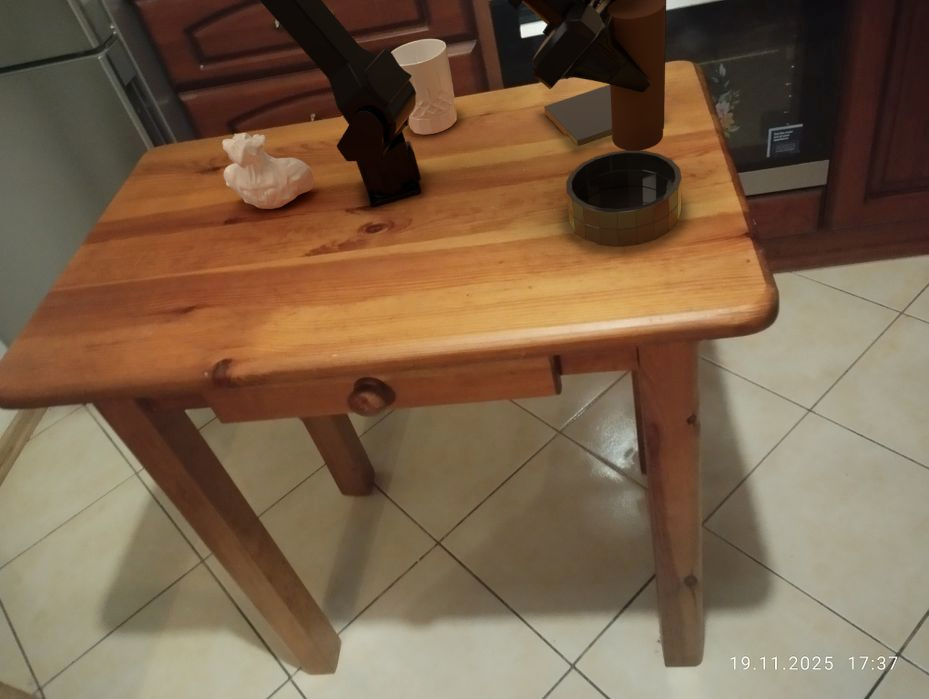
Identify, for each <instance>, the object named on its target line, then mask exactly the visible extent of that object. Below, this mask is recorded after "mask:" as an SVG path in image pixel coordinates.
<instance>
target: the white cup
mask: <svg viewBox="0 0 929 699" xmlns="http://www.w3.org/2000/svg"><path fill="white" fill-rule="evenodd" d="M390 52H391V53H392V54H393V56H394V57H395V59H396V61H397V62H398V64H399V65H400V66H401V67H402V68H403V69H404V70H405V71H406V72H408V73H409V74H411V75H412V77H411V78H410V80H409V81H410V82H411V83H412V85H413V87H414V89H415V91H416V105H415V108H414V110H413V112H412V113H411V114H410V116H409V124H408V126H409V129H410V130H411V131H412V132H413V133H414V134H417V135H421V136H422V135H423V136H424V135H434V134H438V133H441V132H445V131H446V130H448V129H449V128H451V127H452V126H453V125H455V123H456V122H457V120H458V119H457V118H458V115H457V114H458V113H457V108H456V103H455V100H456V99H455V97H456V96H455V92H454V84H453V79H452V78H453V76H452V71H451V67H450V66H451V65H450V61H449V55H448V48H447V44H446V42H445V41H444V40H441V39H437V38H423V39H418V40H414V41H411V42H408V43H404V44H402V45H400V46H398V47H396V48H395V49H393V50H392V51H390Z"/></svg>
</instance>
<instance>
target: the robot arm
mask: <svg viewBox="0 0 929 699" xmlns="http://www.w3.org/2000/svg"><path fill="white" fill-rule="evenodd" d="M258 1H259V2H260V3H261V5H262V6H263V7H265V9H266V10H267V11H268V12H269V13H270V15H271V16H273V18H274V19H275V20H276V21H277V23H279V25H280V26H281V27H282V28H283V29H284V30H285V31H286V33H287V34H289V36H290V37H291V38H292V39H293V41H294V42H295V43H296V44H297V45H298V47H300V49H301V50H302V51H303V52H304V53H305V54H306V55H307V56H308V58H309V59H310V60H311V61H312V62H313V63H314V64H315V65H316V67H317V68H318V69H319V70H320V71H321V72H322V73H323V75H324V76H325V77H326V79H327V80H328V81H329V85H330V88H331V91H332V95H333V98H334V101H335V105H336V108H337V110H338V111H339V113H340V114H341V116H342V117H343V119H344V120H345V122H346V123H347V124H348V126H347V128H346V129H345V131H344V133H343V134H342V136H341V137H340V139H339V141H338V142H337V144H336V148H337V150H338V152H339V153H340V154H341V156H342V157H343V158H344V160H345V161H346V162H355V163H356V165H357V167H358V171H359V174H360V177H361V179H362V182H363V185H364V188H365V191H366V196H367V202H368V204H369V206H370V207H376V206H379V205H382V204H385V203H389V202H391V201H395V200H399V199H401V198H402V199H403V198H405V197H409V196H412V195H416V194H418V193H420V192H421V191H422V189H421V186H420V183H419V181H421V179H422V176H421V173H420V170H419V165H418V162H417V158H416V154H415V152H414V148H413V145H412V142H411V141H410V140H406V137H405V134H404V132H403V131H404V130H405V128H406V127H408V126H409V116H410V114H411V113H412V112H413V110H414V108H415V105H416V91H415V89H414V87H413V85H412V83H411V82H410V81H409V80H410V78H411V77H412V75H411V74H409V73H408V72H406V71H405V70H404V69H403V68H402V67H401V66H400V65H399V64H398V62H397V61H396V59H395V57H394V56H393V54H392V53H391V52H392V51H391V50H389V49H387V48H383V50H381V52H380V53H379V54H376V53H374V52H372V51H370V50H368V49H365V48H363V47H362V46H361V45H360V44H359V43H358V42H357V41H356V40H355V38H354V37H353V36H352V34H350V33H349V31H348V30H347V29H346V28H345V26H344V25H343V24H342V23H341V21H340V20H339V19H338V18H337V17H336V16H335V14H334V13H333V12H332V11H331V9H329V7H328V6H327V5H326V3H324V1H323V0H258ZM614 1H616V0H507V3H508V4H509V5H510V6H511V7H513V8H514V9H515V10H517V9H518V8H519V7H520V5H521V4H523V5H524V6H525V7H527V9H528V10H530V11H531V12H532V13H533V14H534V15H536V16H537V17H538V18H539V19H540V20H541V21H542V22H544V23H545V27H544V29H543V30H542V34H543V35H544V36H545V37H546V38H545V39H544V41H543V42H542V43H541V44H540V46H539V48H538V50H537V51H536V53H535V55H534V56H533V58H532V60H531V63H532V64H531V65H532V73H533V74H532V75H533V77H535V78H536V79H537V80H538V81H539V82H540V83H541V84H543V85H544V86H545V87H546V88H548V89H549V90H552V89H553V88H554V87H555V85H556V84H557V83H558V82H559V81H560V79H561V78H564V79H565V80H568V79H569V78H575V79H581V80H586V81H593V82H598V83H603V84H606V85H614V86H618V87H622V88H626V89H630V90H634V91H638V92H644V91H645V90H646V89H647V88H648V87H649V86H650V84H651V82H650V80H649V79H648V78H647V76H646V75H645V74H644V72H643V71H642V70H641V68H640V67H639V66H638V65H637V64H636V63H635V61H634V60H633V59H632V58H631V57H630V55H629V54H628V53H627V52H626V51H625V50H624V48H623V47H622V46H621V45H620V44H619V42H618V41H617V40H616V38H615V32H614V16H613V14H611V15H610V16H609V17H608V18H607V8H608V7H609V5H610V4H611V3H613V2H614Z"/></svg>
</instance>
